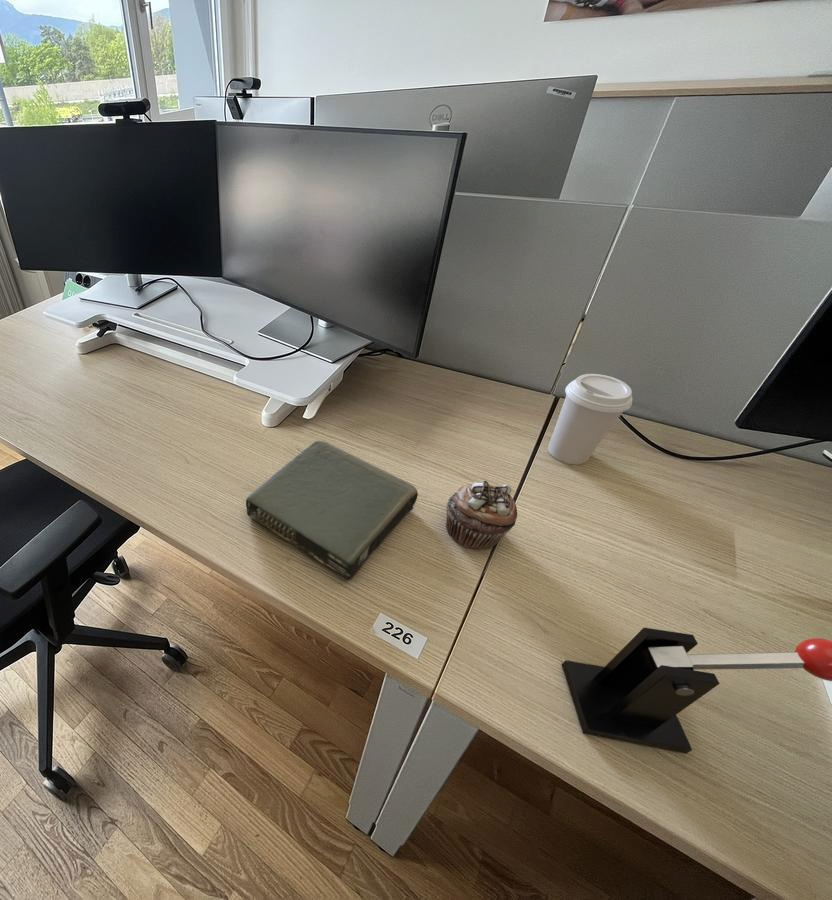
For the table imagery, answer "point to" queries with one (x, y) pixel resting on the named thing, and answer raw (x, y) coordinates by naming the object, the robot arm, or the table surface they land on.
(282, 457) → the table surface
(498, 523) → the cupcake
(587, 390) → the coffee cup
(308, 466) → the network switch
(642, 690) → the switch bracket
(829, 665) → the switch lever
